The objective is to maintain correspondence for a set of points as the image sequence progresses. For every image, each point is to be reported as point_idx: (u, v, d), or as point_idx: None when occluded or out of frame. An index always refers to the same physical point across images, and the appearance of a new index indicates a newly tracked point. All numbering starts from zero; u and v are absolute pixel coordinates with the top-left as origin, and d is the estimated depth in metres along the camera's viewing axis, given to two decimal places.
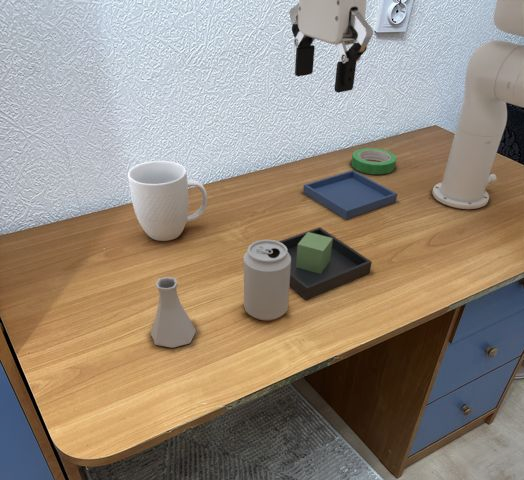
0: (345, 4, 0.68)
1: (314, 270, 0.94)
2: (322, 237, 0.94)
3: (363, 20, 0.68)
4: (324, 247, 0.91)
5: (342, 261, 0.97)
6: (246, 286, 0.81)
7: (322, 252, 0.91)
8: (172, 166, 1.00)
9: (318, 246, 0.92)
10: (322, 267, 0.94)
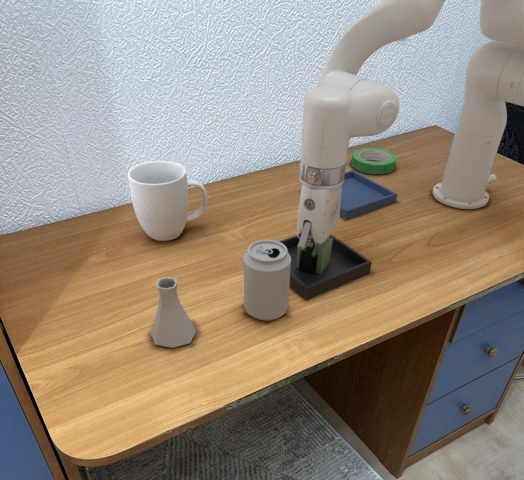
0: (300, 216, 0.85)
1: None
2: None
3: (305, 237, 0.86)
4: (324, 247, 0.91)
5: (342, 261, 0.97)
6: (246, 286, 0.81)
7: (322, 252, 0.91)
8: (172, 166, 1.00)
9: (318, 246, 0.92)
10: (322, 267, 0.94)
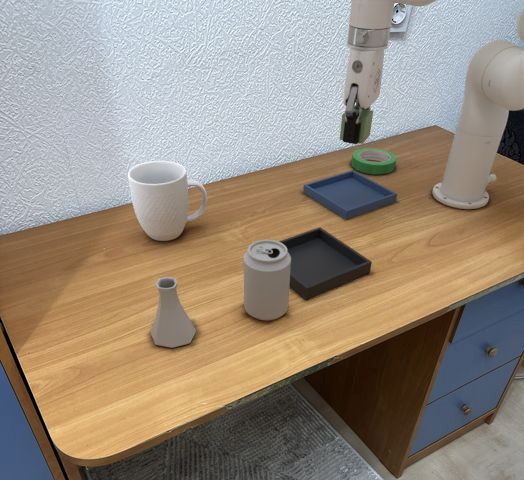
0: (347, 80, 0.95)
1: None
2: (364, 110, 1.03)
3: (352, 100, 0.95)
4: (367, 116, 1.00)
5: (342, 261, 0.97)
6: (246, 286, 0.81)
7: (365, 120, 1.00)
8: (172, 166, 1.00)
9: (361, 115, 1.01)
10: (364, 137, 1.03)
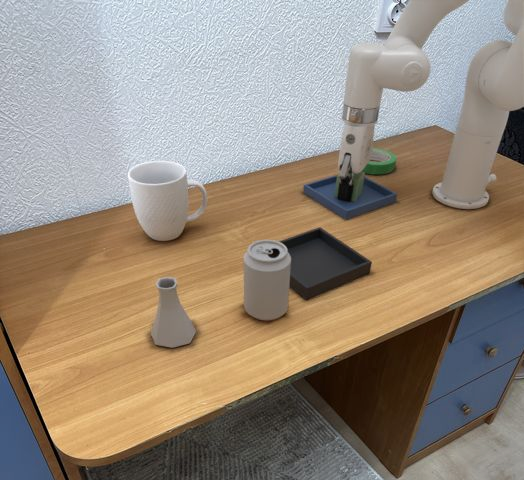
0: (342, 149, 1.07)
1: None
2: None
3: (345, 167, 1.07)
4: (359, 178, 1.13)
5: (342, 261, 0.97)
6: (246, 286, 0.81)
7: (357, 182, 1.12)
8: (172, 166, 1.00)
9: None
10: (356, 196, 1.15)
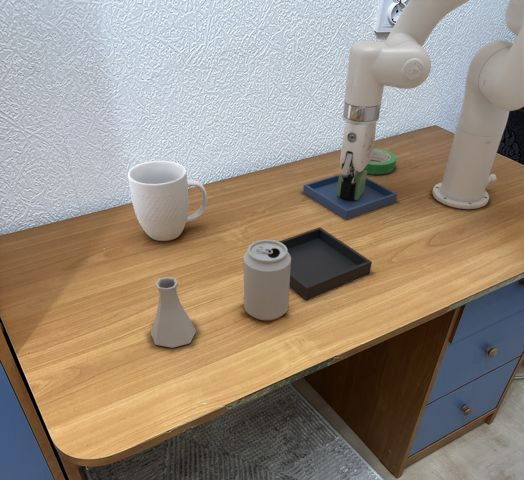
0: (343, 148, 1.07)
1: None
2: None
3: (347, 165, 1.07)
4: (361, 177, 1.12)
5: (342, 261, 0.97)
6: (246, 286, 0.81)
7: (359, 180, 1.12)
8: (172, 166, 1.00)
9: None
10: (358, 194, 1.15)
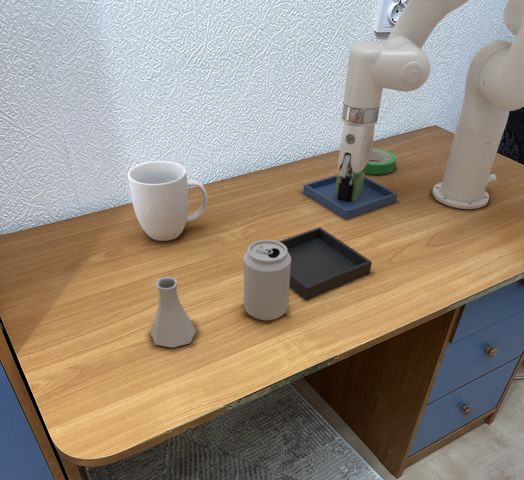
0: (341, 149, 1.07)
1: None
2: None
3: (345, 167, 1.07)
4: (358, 178, 1.13)
5: (342, 261, 0.97)
6: (246, 286, 0.81)
7: (357, 182, 1.12)
8: (172, 166, 1.00)
9: None
10: (356, 196, 1.15)
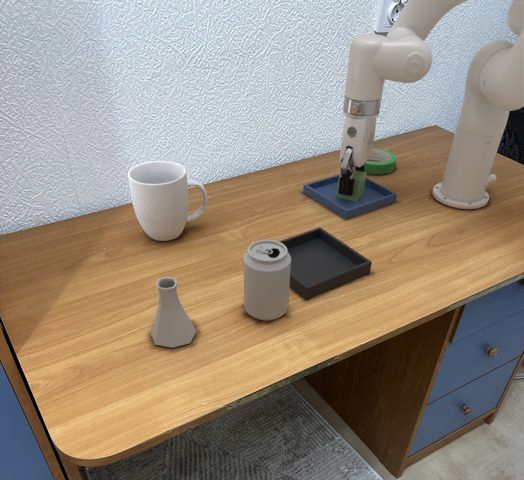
0: (343, 142, 1.06)
1: (351, 198, 1.15)
2: (358, 172, 1.15)
3: (347, 158, 1.06)
4: (360, 178, 1.13)
5: (342, 261, 0.97)
6: (246, 286, 0.81)
7: (359, 182, 1.12)
8: (172, 166, 1.00)
9: (355, 177, 1.13)
10: (358, 196, 1.15)
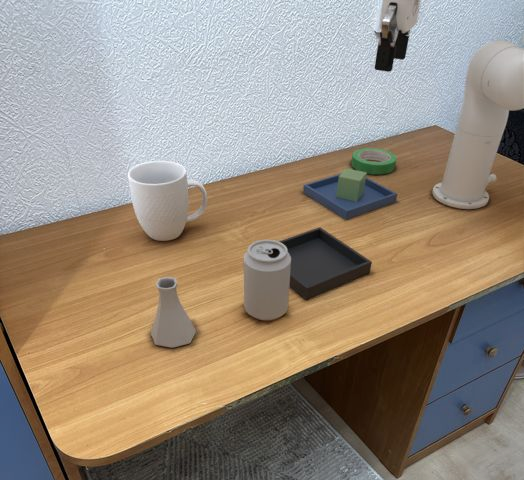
0: None
1: (351, 198, 1.15)
2: (358, 172, 1.15)
3: (390, 13, 0.86)
4: (360, 178, 1.13)
5: (342, 261, 0.97)
6: (246, 286, 0.81)
7: (359, 182, 1.12)
8: (172, 166, 1.00)
9: (355, 177, 1.13)
10: (358, 196, 1.15)
